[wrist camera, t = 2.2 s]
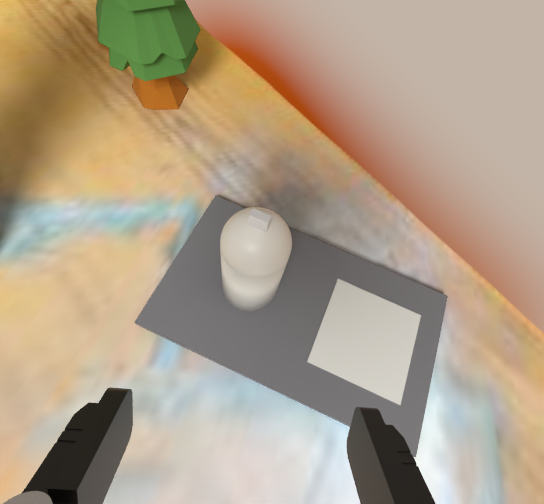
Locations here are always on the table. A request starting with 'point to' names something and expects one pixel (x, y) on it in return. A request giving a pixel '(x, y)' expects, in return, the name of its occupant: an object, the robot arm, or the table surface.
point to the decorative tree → (150, 45)
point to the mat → (308, 327)
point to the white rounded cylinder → (253, 257)
